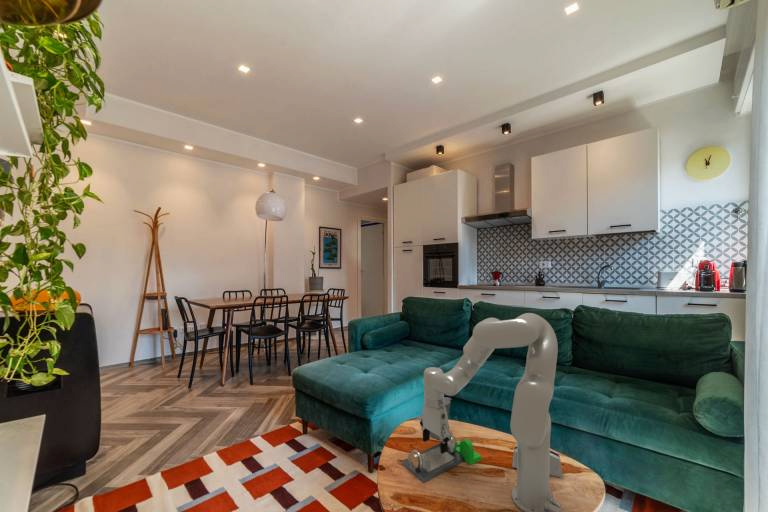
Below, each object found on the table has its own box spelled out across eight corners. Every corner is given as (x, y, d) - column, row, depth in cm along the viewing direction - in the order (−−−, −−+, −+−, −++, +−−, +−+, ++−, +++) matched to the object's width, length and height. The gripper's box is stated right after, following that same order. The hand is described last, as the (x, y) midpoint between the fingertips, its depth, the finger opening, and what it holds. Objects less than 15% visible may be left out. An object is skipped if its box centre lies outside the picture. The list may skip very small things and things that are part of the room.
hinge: (560, 472, 119) (561, 446, 118) (563, 482, 115) (563, 456, 114) (511, 462, 125) (512, 437, 124) (512, 471, 121) (512, 446, 119)
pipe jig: (442, 445, 135) (442, 428, 135) (464, 461, 125) (464, 441, 125) (402, 464, 123) (402, 444, 123) (423, 482, 113) (423, 461, 113)
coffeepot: (444, 425, 151) (445, 387, 151) (458, 435, 143) (458, 394, 143) (417, 434, 144) (417, 393, 144) (429, 445, 136) (429, 402, 136)
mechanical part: (481, 461, 126) (481, 440, 126) (469, 466, 123) (469, 445, 123) (460, 445, 136) (460, 426, 136) (449, 449, 133) (449, 429, 133)
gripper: (458, 406, 119) (458, 453, 119) (426, 391, 133) (426, 433, 133) (443, 412, 115) (444, 461, 115) (412, 396, 129) (412, 439, 129)
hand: (434, 446), depth 124 cm, fingers open, 9 cm apart
